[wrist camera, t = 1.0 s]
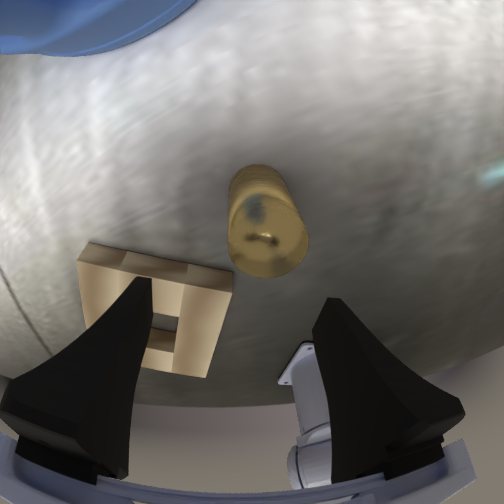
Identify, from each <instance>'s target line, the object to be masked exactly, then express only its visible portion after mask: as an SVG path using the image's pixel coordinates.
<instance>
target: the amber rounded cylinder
mask: <svg viewBox="0 0 504 504" xmlns="http://www.w3.org/2000/svg"><path fill="white" fill-rule="evenodd" d="M308 246H309V236H308V232H307V230H306V227H305V225H304V223H303V221H302V219H301V217H300V214H299V212H298V210H297V208H296V206H295V204H294V202H293V200H292V198H291V196H290V194H289V191H288V189H287V187H286V185H285V183H284V181H283V179H282V177H281V176H280V175H279V173H278V172H277V171H275V170H274V169H273V168H271V167H269V166H266V165H259V164H257V165H250V166H247V167H245V168H243V169H241V170H240V171H238V172H237V173H236V174H235V176H234V177H233V178H232V180H231V183H230V186H229V221H228V249H229V254H230V257H231V259H232V261H233V263H234V264H235V265H236V266H237V267H238V268H239V269H240V270H241V271H243V272H244V273H246V274H248V275H251V276H254V277H258V278H273V277H278V276H282V275H284V274H286V273H288V272H290V271H292V270H293V269H295V268H296V267H297V266H298V265H299V264H300V263H301V262H302V260H303V259H304V257H305V255H306V253H307V250H308Z"/></svg>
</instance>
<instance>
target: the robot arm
mask: <svg viewBox="0 0 504 504" xmlns="http://www.w3.org/2000/svg"><path fill="white" fill-rule="evenodd" d="M152 319H153V298H152V278H148V277H141V276H136V277H135V278H134V279H133V280H132V282H131V283H130V284H129V285H128V287H127V288H126V289H125V290H124V291H123V292H122V294H121V295H120V296H119V297H118V298H117V299H116V300H115V302H114V303H113V304H112V305H111V306H110V307H109V308H108V309H107V310H106V311H105V312H104V313H103V314H102V315H101V316H100V317H99V318H98V319H97V320H96V321H95V322H94V323H93V325H91V326H90V327H89V328H88V329H87V330H86V331H85V332H84V333H83V334H82V335H80V336H79V337H78V338H77V339H76V340H75V341H73V342H72V343H71V344H69V345H68V346H67V347H66V348H64V349H63V350H62V351H60V352H59V353H58V354H56V355H55V356H53V357H52V358H50V359H49V360H47V361H45V362H44V363H42V364H41V365H39V366H38V367H36V368H34V369H32V370H31V371H29V372H27V373H25V374H23V375H21V376H19V377H17V378H15V379H13V380H11V381H9V383H8V385H7V388H6V389H5V392H4V395H3V398H2V400H1V403H0V418H1V419H2V420H3V421H4V422H5V423H6V424H7V425H8V426H9V427H10V428H11V429H13V430H14V431H15V432H16V433H17V434H18V435H19V439H18V442H17V441H16V440H14V439H12V438H11V437H9V436H7V435H5V434H3V433H1V432H0V497H1V498H3V499H5V500H6V501H8V502H10V503H11V504H135V503H133V502H132V501H136V502H141V503H147V504H441V503H442V502H444V501H445V500H446V499H448V498H450V497H451V496H453V495H454V494H456V493H457V492H459V491H460V490H462V489H463V488H465V487H466V486H468V485H469V484H471V483H472V482H474V481H475V480H476V479H477V477H476V474H475V471H474V468H473V465H472V462H471V459H470V456H469V454H468V451H467V448H466V445H465V443H464V440H463V439H460V440H458V441H455V442H453V443H451V444H449V445H447V446H445V447H443V448H442V446H441V443H442V442H444V438H443V434H444V433H446V432H447V431H448V430H450V429H451V428H452V427H454V426H455V425H456V424H458V423H459V422H460V421H461V420H462V419H463V418H464V416H465V411H464V409H463V406H462V404H461V402H460V400H459V398H457V397H455V396H453V395H451V394H449V393H447V392H445V391H443V390H441V389H439V388H438V387H436V386H434V385H433V384H431V383H429V382H428V381H426V380H425V379H423V378H422V377H420V376H419V375H418V374H416V373H415V372H413V371H412V370H411V369H409V368H408V367H407V366H406V365H404V364H403V363H402V362H401V361H400V360H399V359H397V358H396V357H395V356H394V355H393V354H392V353H391V352H390V351H389V350H388V349H387V348H386V347H385V346H384V345H383V344H382V343H381V342H380V341H379V340H378V339H377V338H376V337H375V336H374V335H373V334H372V333H371V332H370V331H369V330H368V328H367V327H366V326H365V325H364V324H363V323H362V322H361V321H360V320H359V318H358V317H357V316H356V315H355V314H354V313H353V312H352V311H351V309H350V308H349V307H348V306H347V305H346V304H345V303H344V302H343V301H342V300H341V299H340V298H327V300H326V302H325V304H324V306H323V308H322V310H321V313H320V315H319V317H318V319H317V321H316V323H315V325H314V327H313V329H312V334H313V343H303V344H302V345H301V346H300V347H299V349H298V350H297V352H296V354H295V355H294V357H293V358H292V360H291V361H290V363H289V364H288V366H287V367H286V369H285V370H284V372H283V373H282V375H281V376H280V378H279V379H278V384H281V385H292V387H293V393H294V399H295V404H296V409H297V416H298V421H299V427H300V433H301V436H299V437H296V439H297V445H295V446H293V447H292V448H291V450H290V452H289V454H288V458H287V470H288V476H289V479H290V483H291V486H292V488H293V490H289V491H277V492H262V493H208V492H193V491H182V490H172V489H165V488H158V487H152V486H146V485H140V484H135V483H130V482H125V481H120V480H122V479H124V478H126V477H127V476H128V463H129V439H130V426H131V416H132V407H133V400H134V392H135V387H136V382H137V379H138V375H139V371H140V368H141V364H142V360H143V357H144V353H145V350H146V346H147V343H148V339H149V336H150V330H151V324H152ZM109 477H110V478H109ZM112 478H114V479H112ZM117 479H120V480H117Z"/></svg>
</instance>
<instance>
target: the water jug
mask: <svg viewBox="0 0 504 504" xmlns="http://www.w3.org/2000/svg"><path fill="white" fill-rule="evenodd" d="M195 1H196V0H0V54H6V55H11V54H42V55H48V56H64V57H78V56H87V55H93V54H98V53H102V52H106V51H110V50H113V49H116V48H119V47H121V46H124V45H126V44H129V43H131V42H134V41H136V40H138V39H140V38H142V37H144V36H146V35H148V34H150V33H151V32H153V31H155V30H157V29H158V28H160V27H162V26H163V25H165V24H166V23H168V22H169V21H171V20H172V19H174V18H175V17H176V16H178V15H179V14H180V13H182V12H183V11H184V10H186V9H187V8H188V7H189V6H190V5H191V4H193V3H194V2H195Z"/></svg>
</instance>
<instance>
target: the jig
mask: <svg viewBox="0 0 504 504" xmlns="http://www.w3.org/2000/svg"><path fill="white" fill-rule="evenodd" d="M77 270H78V278H79V286H80V294H81V300H82V307H83V313H84V318H85V324H86V329H88V328H89V327H90V326H91V325H93V323H94V322H95V321H96V320H97V319H98V318H99V317H100V316H101V315H102V314H103V313H104V312H105V311H106V310H107V309H108V308H109V307H110V306H111V305H112V304H113V303H114V302H115V300H116V299H117V298H118V297H119V296H120V295H121V294H122V292H123V291H124V290H125V289H126V288H127V287H128V285H129V284H130V283H131V282H132V280H133V279H134V278H135V277H136V276H141V277H148V278H152V298H153V312H156V313H161V314H166V315H171V316H176V317H179V321H178V328H177V333H175V332H170V331H164V330H159V329H155V328H151V330H150V336H149V339H148V343H147V346H146V350H145V353H144V357H143V360H142V364H141V367H146V368H151V369H156V370H161V371H166V372H172V373H178V374H183V375H190V376H196V377H203V378H205V377H206V374H207V371H208V368H209V365H210V362H211V359H212V355H213V352H214V349H215V346H216V343H217V340H218V337H219V333H220V330H221V327H222V324H223V321H224V318H225V315H226V311H227V308H228V305H229V302H230V299H231V296H232V272H229V271H224V270H218V269H213V268H208V267H203V266H198V265H193V264H188V263H183V262H178V261H173V260H168V259H163V258H158V257H153V256H149V255H144V254H139V253H134V252H130V251H125V250H120V249H116V248H111V247H107V246H102V245H97V244H93V243H88V244H87V246H86V247H85V249H84V250H83V252H82V253H81V255H80V256H79V257H78V259H77Z"/></svg>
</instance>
